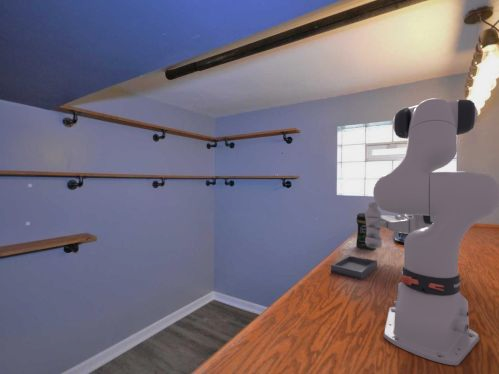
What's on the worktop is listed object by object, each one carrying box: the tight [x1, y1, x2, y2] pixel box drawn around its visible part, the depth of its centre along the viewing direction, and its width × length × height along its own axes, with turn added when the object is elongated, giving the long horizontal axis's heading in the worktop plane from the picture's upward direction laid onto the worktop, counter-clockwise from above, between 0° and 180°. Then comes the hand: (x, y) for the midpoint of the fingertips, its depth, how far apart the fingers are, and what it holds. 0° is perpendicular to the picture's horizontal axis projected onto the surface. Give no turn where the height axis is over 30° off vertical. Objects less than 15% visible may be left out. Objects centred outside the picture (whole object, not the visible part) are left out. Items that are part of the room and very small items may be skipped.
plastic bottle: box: [365, 201, 383, 249], centre depth 112 cm, size 6×7×20 cm
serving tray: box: [330, 254, 378, 281], centre depth 104 cm, size 17×12×3 cm
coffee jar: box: [355, 212, 377, 250], centre depth 136 cm, size 10×8×19 cm
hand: (371, 222), depth 112 cm, fingers closed on plastic bottle, 6 cm apart
